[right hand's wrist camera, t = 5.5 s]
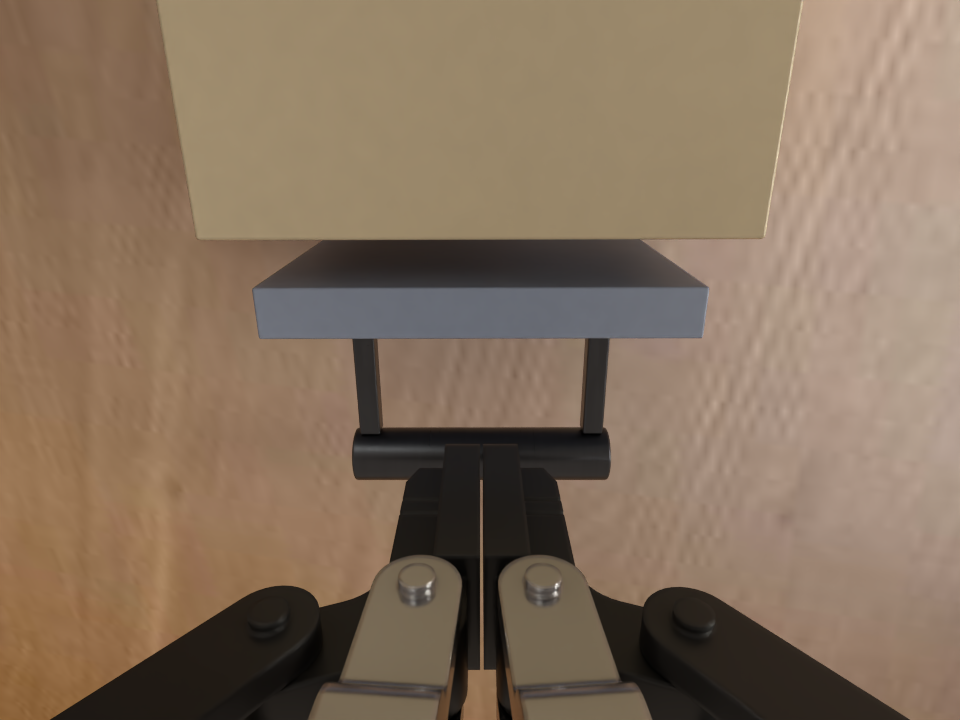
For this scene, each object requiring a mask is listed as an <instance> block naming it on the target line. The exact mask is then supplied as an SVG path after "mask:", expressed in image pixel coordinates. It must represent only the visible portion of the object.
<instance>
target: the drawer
mask: <svg viewBox="0 0 960 720" xmlns="http://www.w3.org/2000/svg"><path fill="white" fill-rule="evenodd" d="M252 291H253V299H254V306H255V313H256V320H257V327H258V334H259V338H260V339H353V351H354V363H355V375H356V387H357V399H358V411H359V423H360V428H358V429H357V430H356V432H355V435H354V440H353V448H352V466H353V473H354V476H355V478H356V479H357V480H409V479H410V478H411V476H412V475H413V474H414V473H415V472H416V471H417V470H418V469H419V468H443V461H444V452H445V444H480V480H483V444H518V451H519V459H520V467H521V468H544V469H545V470H546V471H547V472H548V473H549V474H550V475H551V476H552V477H553V478H554V479H555V480H606V479H607V478H608V476H609V473H610V465H611V449H610V440H609V435H608V432H607V430H606V428H604V427H603V419H604V406H605V393H606V379H607V366H608V353H609V340H610V338H702V337H703V332H704V324H705V317H706V309H707V302H708V294H709V287H708V286H706V285H705V284H703V283H702V282H700V281H699V280H698V279H696V278H695V277H693V276H692V275H690V274H689V273H687V272H686V271H685V270H683V269H682V268H680V267H679V266H677V265H676V264H675V263H673V262H672V261H670V260H669V259H667V258H666V257H664V256H663V255H662V254H660V253H659V252H657V251H656V250H654V249H653V248H651V247H650V246H649V245H647V244H646V243H644V242H643V241H641V240H640V239H554V240H323V241H321V242H320V243H318V244H317V245H315V246H314V247H312V248H311V249H309V250H308V251H307V252H305V253H304V254H302V255H301V256H299V257H298V258H296V259H295V260H293V261H292V262H290V263H289V264H288V265H286V266H285V267H283V268H282V269H280V270H279V271H277V272H276V273H274V274H273V275H271V276H270V277H269V278H267V279H266V280H264V281H263V282H261V283H260V284H258V285H257V286H255V287H254V288H253V289H252ZM472 338H585V352H584V368H583V384H582V401H581V417H580V426H581V427H532V428H382V427H383V418H382V403H381V388H380V374H379V359H378V344H377V339H472Z"/></svg>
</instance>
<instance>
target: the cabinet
mask: <svg viewBox="0 0 960 720" xmlns="http://www.w3.org/2000/svg"><path fill="white" fill-rule="evenodd" d="M156 4H157V10H158V16H159V22H160V28H161V34H162V40H163V45H164V51H165V57H166V63H167V69H168V75H169V81H170V87H171V93H172V99H173V105H174V111H175V116H176V122H177V128H178V134H179V140H180V146H181V152H182V158H183V164H184V170H185V176H186V182H187V187H188V193H189V199H190V205H191V211H192V217H193V223H194V229H195V235H196V238H197V239H198V240H554V239H762V238H764V237H765V234H766V228H767V222H768V216H769V210H770V203H771V197H772V191H773V185H774V179H775V173H776V166H777V160H778V154H779V148H780V142H781V136H782V130H783V123H784V117H785V111H786V105H787V99H788V93H789V87H790V80H791V74H792V68H793V62H794V56H795V50H796V43H797V37H798V31H799V25H800V19H801V13H802V7H803V0H156Z"/></svg>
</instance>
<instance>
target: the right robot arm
mask: <svg viewBox="0 0 960 720" xmlns="http://www.w3.org/2000/svg"><path fill="white" fill-rule="evenodd" d="M483 615H484V670H496V684H497V705H496V716H497V720H910V719H908V718H906V717H905V716H903V715H902V714H900V713H898V712H897V711H895V710H894V709H892V708H891V707H889V706H887V705H886V704H884V703H883V702H881V701H879V700H878V699H876V698H875V697H873V696H872V695H870V694H868V693H867V692H865V691H864V690H862V689H860V688H859V687H857V686H856V685H854V684H853V683H851V682H849V681H848V680H846V679H845V678H843V677H841V676H840V675H838V674H837V673H835V672H834V671H832V670H830V669H829V668H827V667H826V666H824V665H822V664H821V663H819V662H818V661H816V660H815V659H813V658H811V657H810V656H808V655H807V654H805V653H803V652H802V651H800V650H799V649H797V648H796V647H794V646H792V645H791V644H789V643H788V642H786V641H784V640H783V639H781V638H780V637H778V636H777V635H775V634H773V633H772V632H770V631H769V630H767V629H765V628H764V627H762V626H761V625H759V624H758V623H756V622H754V621H753V620H751V619H750V618H748V617H746V616H745V615H743V614H742V613H740V612H739V611H737V610H735V609H734V608H732V607H731V606H729V605H727V604H726V603H724V602H723V601H721V600H720V599H718V598H716V597H714V596H712V595H710V594H708V593H705V592H703V591H699V590H696V589H691V588H685V587H671V588H665V589H662V590H659V591H657V592H655V593H653V594H652V595H651V596H650V597H649V598H648V599H647V600H646V602H645V604H644V607H641V606H637V605H633V604H629V603H625V602H621V601H617V600H614V599H611V598H609V597H606V596H604V595H602V594H600V593H598V592H597V591H595V590H594V589H592V588H591V587H589V586H588V583H587V581H586V579H585V577H584V575H583V574H582V572H581V571H580V570H579V569H578V568H577V567H575V563H574V559H573V554H572V550H571V545H570V540H569V536H568V531H567V527H566V522H565V517H564V515H563V508H562V504H561V501H560V494H559V490H558V485H557V482H556V480H555V479H554V478H553V477H552V476H551V475H550V474H549V473H548V472H547V471H546V470H545V469H544V468H521V467H520V459H519V451H518V444H483ZM468 670H480V444H445V452H444V461H443V468H419V469H418V470H417V471H416V472H415V473H414V474H413V475H412V476H411V478H410V479H409V480H408V481H407V482H406V486H405V491H404V496H403V501H402V505H401V510H400V515H399V520H398V525H397V529H396V534H395V539H394V544H393V549H392V553H391V558H390V563H389V564H388V565H386V566H385V567H383V568H382V569H381V570H380V571H379V572H378V574H377V575H376V577H375V579H374V581H373V583H372V586H371V589H370V590H369V591H368V592H366V593H364V594H363V595H361V596H359V597H356V598H354V599H351V600H348V601H344V602H340V603H336V604H332V605H328V606H324V607H320V608H319V605H318V602H317V600H316V599H315V597H314V596H313V595H312V594H311V593H310V592H308V591H306V590H304V589H301V588H298V587H294V586H274V587H269V588H265V589H261V590H258V591H256V592H253V593H251V594H249V595H247V596H246V597H244V598H242V599H240V600H239V601H237V602H236V603H234V604H233V605H231V606H229V607H228V608H226V609H225V610H223V611H221V612H220V613H218V614H217V615H215V616H214V617H212V618H210V619H209V620H207V621H206V622H204V623H202V624H201V625H199V626H198V627H196V628H195V629H193V630H191V631H190V632H188V633H187V634H185V635H183V636H182V637H180V638H179V639H177V640H176V641H174V642H172V643H171V644H169V645H168V646H166V647H164V648H163V649H161V650H160V651H158V652H157V653H155V654H153V655H152V656H150V657H149V658H147V659H145V660H144V661H142V662H141V663H139V664H138V665H136V666H134V667H133V668H131V669H130V670H128V671H126V672H125V673H123V674H122V675H120V676H119V677H117V678H115V679H114V680H112V681H111V682H109V683H107V684H106V685H104V686H103V687H101V688H100V689H98V690H96V691H95V692H93V693H92V694H90V695H88V696H87V697H85V698H84V699H82V700H81V701H79V702H77V703H76V704H74V705H73V706H71V707H69V708H68V709H66V710H65V711H63V712H62V713H60V714H58V715H57V716H55V717H54V718H52V719H50V720H463V716H464V705H463V704H464V702H465V699H466V696H467V687H468Z"/></svg>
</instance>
